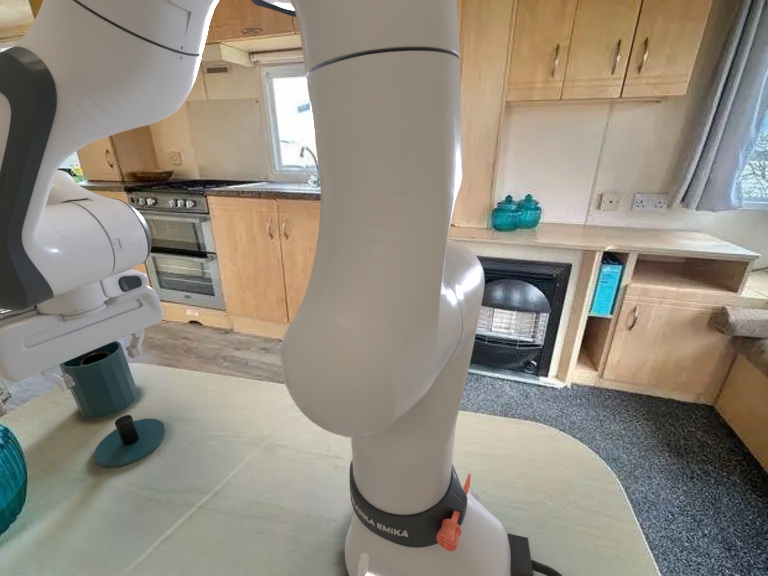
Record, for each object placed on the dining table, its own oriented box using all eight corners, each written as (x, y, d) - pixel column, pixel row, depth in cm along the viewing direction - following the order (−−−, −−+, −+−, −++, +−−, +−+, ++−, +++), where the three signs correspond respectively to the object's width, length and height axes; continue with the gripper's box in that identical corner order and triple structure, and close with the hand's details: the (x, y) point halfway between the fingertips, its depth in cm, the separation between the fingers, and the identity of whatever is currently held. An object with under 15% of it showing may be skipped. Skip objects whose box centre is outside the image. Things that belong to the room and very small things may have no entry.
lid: (179, 435, 62) (171, 411, 60) (115, 480, 54) (104, 454, 52) (147, 415, 67) (138, 392, 65) (84, 454, 59) (72, 429, 57)
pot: (147, 397, 72) (130, 347, 67) (96, 427, 64) (73, 373, 60) (124, 383, 76) (106, 335, 71) (73, 409, 69) (49, 358, 64)
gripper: (-25, 326, 40) (24, 420, 45) (157, 271, 56) (178, 345, 61) (-43, 314, 42) (6, 404, 48) (136, 265, 59) (157, 336, 64)
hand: (104, 370), depth 55 cm, fingers open, 8 cm apart
